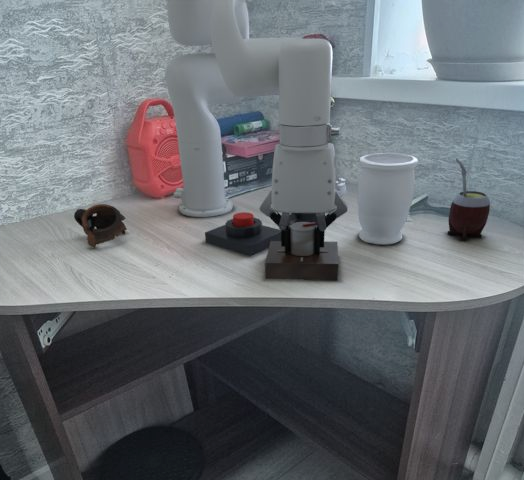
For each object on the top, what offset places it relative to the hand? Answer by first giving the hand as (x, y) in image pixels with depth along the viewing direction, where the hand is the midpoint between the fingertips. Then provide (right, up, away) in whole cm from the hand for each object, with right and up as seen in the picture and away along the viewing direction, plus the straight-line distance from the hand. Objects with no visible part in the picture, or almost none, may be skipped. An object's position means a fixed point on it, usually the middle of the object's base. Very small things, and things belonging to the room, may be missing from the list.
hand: (302, 249), depth 82 cm
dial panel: (0, -3, +2) cm, 3 cm away
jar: (+17, +5, +13) cm, 21 cm away
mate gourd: (+33, +5, +12) cm, 35 cm away
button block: (-10, +4, +13) cm, 17 cm away
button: (-11, +7, +11) cm, 17 cm away
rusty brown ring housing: (-40, +5, +17) cm, 44 cm away
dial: (0, 0, 0) cm, 0 cm away
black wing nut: (+3, +10, +22) cm, 24 cm away
